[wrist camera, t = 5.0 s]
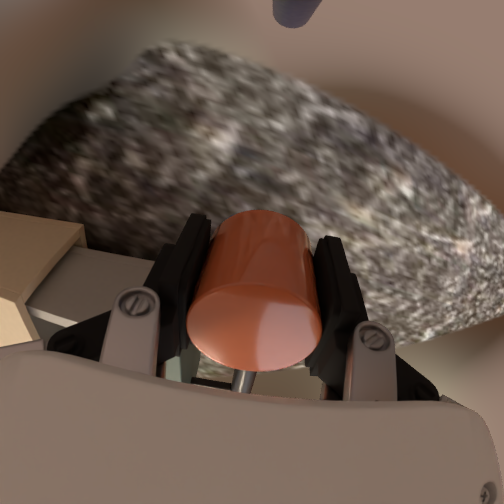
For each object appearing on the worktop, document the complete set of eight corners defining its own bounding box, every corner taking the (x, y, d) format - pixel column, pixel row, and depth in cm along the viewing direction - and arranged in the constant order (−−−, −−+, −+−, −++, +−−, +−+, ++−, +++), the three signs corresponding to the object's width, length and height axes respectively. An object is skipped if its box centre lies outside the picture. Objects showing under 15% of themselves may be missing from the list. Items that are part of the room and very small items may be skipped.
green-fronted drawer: (273, 270, 19) (270, 357, 13) (249, 364, 24) (243, 435, 19) (46, 231, 18) (-8, 287, 13) (73, 325, 24) (42, 381, 18)
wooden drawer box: (83, 223, 19) (14, 302, 12) (106, 332, 25) (72, 406, 18) (-22, 207, 19) (-81, 258, 12) (9, 299, 25) (-30, 353, 18)
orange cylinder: (203, 208, 11) (172, 281, 8) (316, 209, 11) (332, 284, 7) (214, 291, 13) (196, 368, 10) (307, 293, 13) (313, 373, 10)
